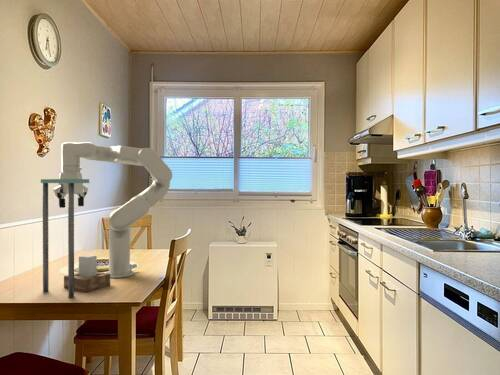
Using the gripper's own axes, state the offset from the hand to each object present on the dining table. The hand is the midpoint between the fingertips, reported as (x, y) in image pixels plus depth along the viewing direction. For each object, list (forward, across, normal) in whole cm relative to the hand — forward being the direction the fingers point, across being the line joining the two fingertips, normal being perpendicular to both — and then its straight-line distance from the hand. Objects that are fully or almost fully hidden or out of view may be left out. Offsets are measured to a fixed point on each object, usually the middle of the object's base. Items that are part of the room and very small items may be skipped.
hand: (71, 206), depth 173 cm
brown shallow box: (+33, +6, +17) cm, 38 cm away
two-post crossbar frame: (+33, +16, +17) cm, 40 cm away
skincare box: (+32, +6, +17) cm, 37 cm away
